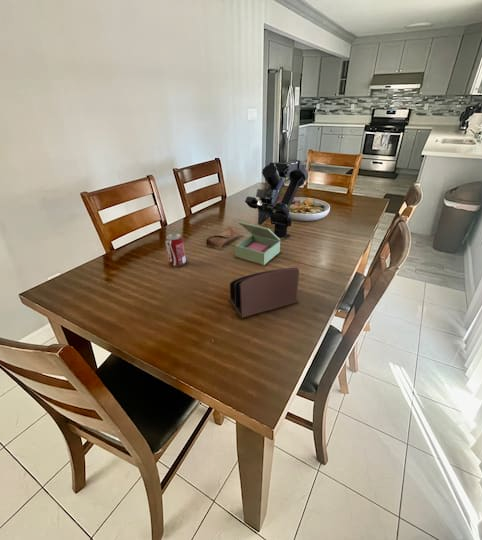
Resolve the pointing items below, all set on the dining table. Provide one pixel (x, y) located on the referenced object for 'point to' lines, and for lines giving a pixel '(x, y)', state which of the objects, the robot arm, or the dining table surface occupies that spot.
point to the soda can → (175, 250)
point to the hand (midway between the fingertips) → (259, 224)
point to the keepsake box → (257, 255)
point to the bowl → (307, 209)
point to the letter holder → (264, 291)
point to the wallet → (258, 247)
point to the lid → (259, 230)
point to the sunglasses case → (222, 238)
